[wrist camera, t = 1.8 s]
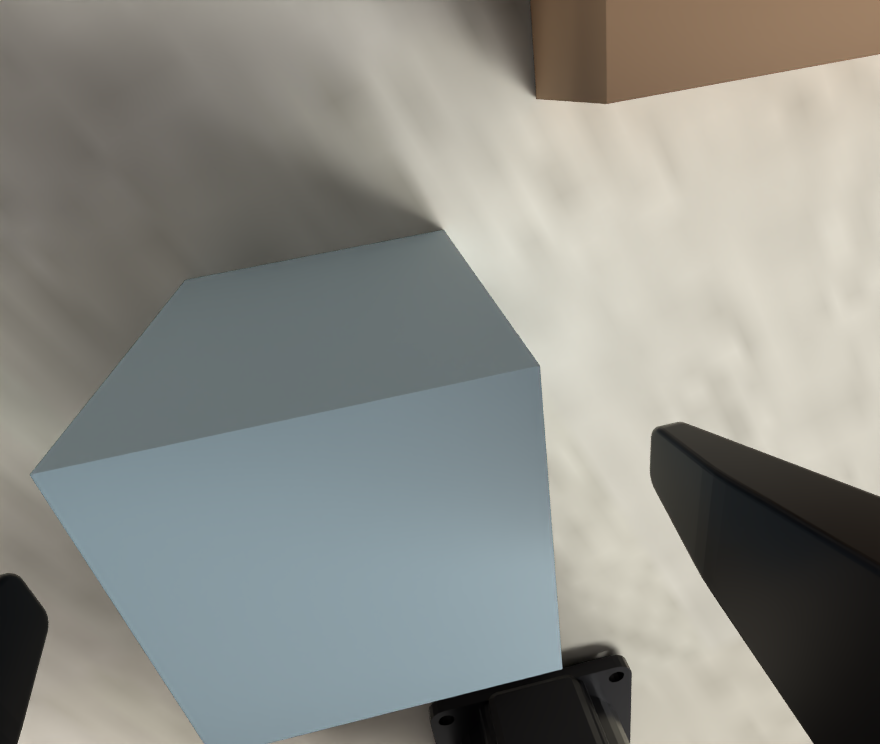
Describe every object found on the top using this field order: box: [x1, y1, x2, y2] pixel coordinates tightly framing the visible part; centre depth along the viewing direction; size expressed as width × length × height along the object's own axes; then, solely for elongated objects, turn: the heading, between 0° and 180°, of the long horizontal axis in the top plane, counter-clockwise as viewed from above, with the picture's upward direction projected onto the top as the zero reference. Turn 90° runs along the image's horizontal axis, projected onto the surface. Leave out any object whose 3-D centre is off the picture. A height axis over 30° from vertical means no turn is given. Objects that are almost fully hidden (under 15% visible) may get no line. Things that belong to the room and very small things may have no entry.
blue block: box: [30, 230, 562, 744], centre depth 9 cm, size 5×5×6 cm
